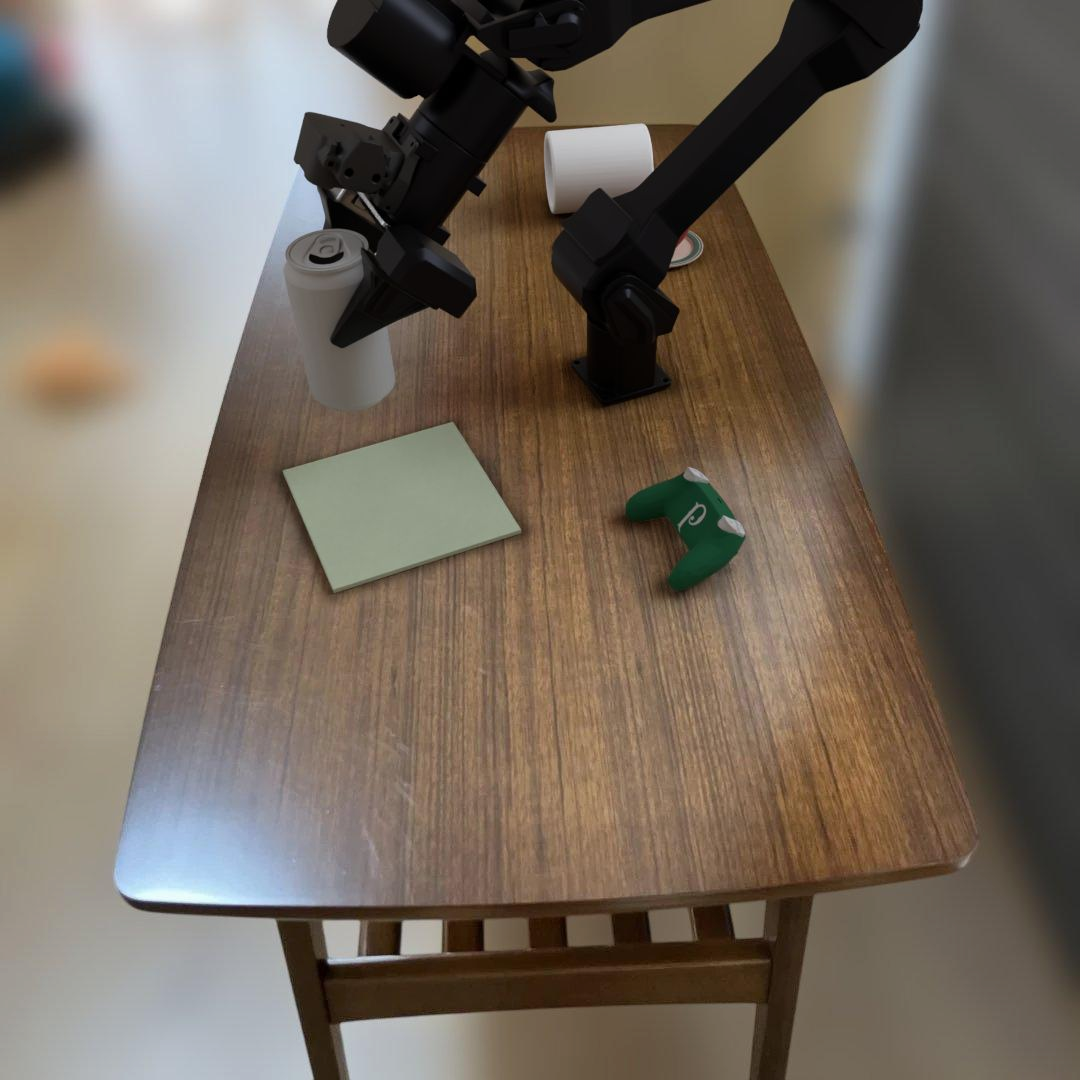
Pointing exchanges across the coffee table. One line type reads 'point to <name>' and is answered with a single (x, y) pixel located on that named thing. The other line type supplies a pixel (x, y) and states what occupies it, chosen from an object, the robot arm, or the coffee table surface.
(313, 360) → the beverage can
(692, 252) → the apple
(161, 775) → the coffee table surface
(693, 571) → the gaming controller
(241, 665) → the coffee table surface
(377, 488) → the felt mat
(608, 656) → the coffee table surface
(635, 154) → the mug
